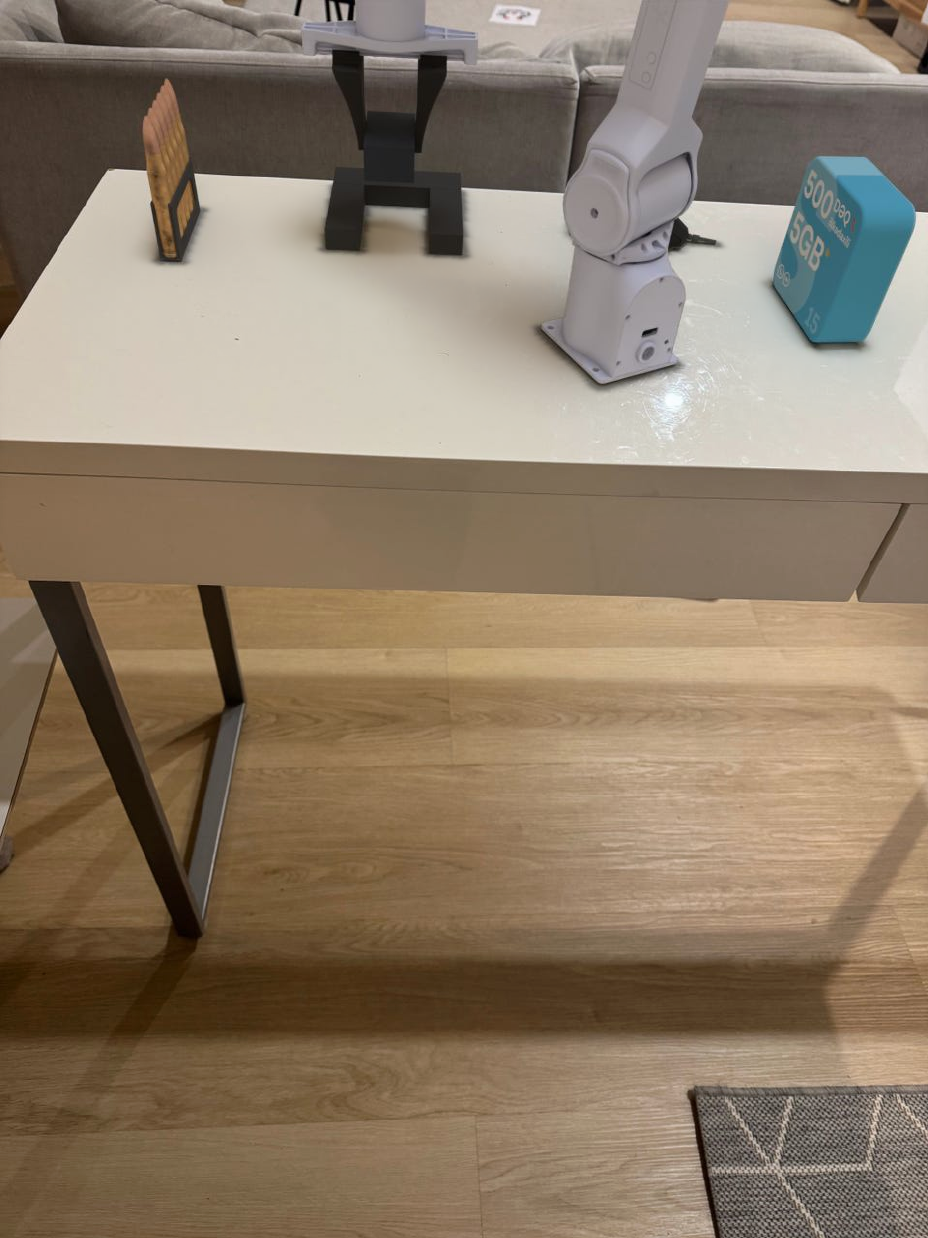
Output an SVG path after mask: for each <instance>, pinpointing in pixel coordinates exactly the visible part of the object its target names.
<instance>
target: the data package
mask: <svg viewBox="0 0 928 1238" xmlns="http://www.w3.org/2000/svg"><path fill="white" fill-rule="evenodd" d="M797 195H798V196H797V198H796V202H795V204H794V207H793V210H792V214H791V216H790V220H789V222H788V226H787V228H786V232H785V236H784V239H783V242H782V245H781V247H780V251H779V253H778V256H777V260H776V263H775V266H774V270H773V285H774V288H775V290H776V291H777V294H779V296H780V298H781V299H782V301H783V302H784V303H785V305H786V306H787V308H788V309H789V311H790V312H791V314H792V315H793V317H794V319H795V320H796V322H797V323H798V324H799V326H800V327H801V329H802V330H803V332H804V333H805V335H806V336H807V338H808V340H809V341H811V342H812V343H860V342H863V341H865V340H866V339H867V337H868V336H869V335H870V333H871V331H872V328H873V327H874V323H875V321H876V319H877V317H878V314H879V312H880V310H881V307H882V305H883V303H884V301H885V298H886V296H887V294H888V291H889V289H890V286H891V285H892V282H893V279H894V277H895V276H896V273H897V270H898V268H899V266H900V264H901V261H902V259H903V257H904V254H905V252H906V249H907V248H908V245H909V243H910V240H911V238H912V236H913V233H914V231H915V228H916V223H917V214H916V213H917V212H916V208H915V206H914V204H913V203H912V202H911V201H910V200H909V199H908V198H907V197H906V196H905V195H904V194H903V193H902V192H901V191H900V190H899V189H898V188H897V187H896V186H895V185H894V184H893V183H892V182H891V181H890V179H888V177H886V176H885V174H883V173H882V171H881V170H879V169H878V168H877V166H875V164H873V162H872V161H870V159H869V158H867V157H866V156H839V155H838V156H835V155H834V156H831V155H830V156H829V155H819V156H815V157H814V158H813V159H811V161H810V162H809V164H808V166H807V168H806V171H805V174H804V176H803V180H802V183H801V186H800V189H799V192H798V194H797Z"/></svg>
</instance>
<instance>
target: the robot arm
mask: <svg viewBox="0 0 928 1238" xmlns="http://www.w3.org/2000/svg"><path fill="white" fill-rule="evenodd" d="M426 3H427V0H354V8H355V9H354V12H355V13H354V14H355V20H339V21H303V22H302V25H301V28H300V33H301V46H302V47H301V48H302V56H309V57H310V56H311V57H314V56H316V55H317V54H322V55H331V71H332V74H333V77H334V79H335V81H336V84H337V85H338V88H339V89H340V92H341V94H342V96H343V98H344V100H345V103H346V105H347V108H348V112H349V115H350V118H351V120H352V124H353V127H354V133H355V136H356V142H357V150H358V151H363V145H364V136H365V129H366V119H367V112H366V103H365V57H375V58H376V57H377V58H394V59H412V60H417V78H416V79H417V83H416V85H417V86H416V93H417V94H416V108H415V109H416V111H415V154H422V152H423V144H424V138H425V134H426V131H427V126H428V123H429V119H430V116H431V113H432V111H433V108H434V106H435V103H436V101H437V99H438V97H439V94H440V92H441V90H442V88H443V87H444V84H445V81H446V79H447V75H448V62H463V64H464V65H469V66H470V65H471V66H477V64H478V52H479V51H478V50H479V49H478V48H479V36H478V32H477V31H471V30H470V31H469V30H460V29H454V28H448V27H442V26H437V25H430V24H426V9H427V8H426V6H427V5H426ZM729 3H730V0H641V3H640V7H639V10H638V15H637V17H636V21H635V26H634V30H633V35H632V38H631V42H630V45H629V49H628V54H627V57H626V61H625V65H624V69H623V72H622V77H621V81H620V84H619V89H618V92H617V96H616V100H615V102H614V105H613V106H612V108H611V110H610V111H609V112H608V114H607V115H606V117H605V118H604V119H603V120H602V122H601V123H600V124H599V126H598V127H597V128H596V130H595V131H594V133H592V136H591V137H590V138H589V140H588V142H587V145H586V149H585V151H584V155H583V159H582V161H581V163H580V165H579V167H578V168H577V170H576V171H575V172H574V173H573V174H572V176H571V177H570V178H569V180H568V181H567V184H566V186H565V188H564V192H563V196H562V214H563V219H564V223H565V226H566V228H567V230H568V233H569V234H570V236H571V238H572V243H571V244H572V246H573V248H574V250H573V255H572V263H571V269H570V275H569V281H568V288H567V293H566V302H565V307H564V314H563V317H561V318H560V317H559V318H556V319H553V320H548V321H543V322H542V323H541V330H542V331H543V332H544V333H545V334H546V335H547V336H548V337H549V338H550V339H551V340H553V342H554V343H556V345H557V346H559V347H560V348H561V350H563V351H564V352H565V353H566V354H567V355H568V356H569V357H571V359H572V360H574V362H576V364H578V365H579V366H580V367H581V368H582V369H583V370H584V371H585V372H586V373H587V374H588V375H589V376H590V377H592V378H593V380H595V381H596V382H597V383H599V384H601V385H602V384H603V385H605V384H607V383H608V384H609V383H611V382H615V381H619V380H622V379H627V378H629V377H634V376H637V375H641V374H644V373H648V372H652V371H655V370H659V369H663V368H666V367H670V366H674V365H676V364H677V363H678V360H679V359H678V357H677V356H676V355H675V354H674V353H673V351H674V346H675V342H676V338H677V335H678V330H679V328H680V327H679V326H680V323H681V320H682V315H683V312H684V308H685V303H686V296H687V292H686V286H685V284H684V282H683V280H682V279H681V277H680V276H679V275H678V274H677V273H676V271H675V270H674V268H673V266H672V263H671V260H670V257H669V249H668V245H669V241H670V236H671V232H672V228H673V224H674V220H675V219H677V218H680V217H682V216H683V215H684V214H685V213H686V212H687V211H688V210H689V208H691V206H692V204H693V202H694V200H695V197H696V194H697V192H698V191H697V190H698V183H699V182H698V181H699V180H698V179H699V178H698V155H699V150H700V147H701V144H702V142H703V137H704V136H703V135H704V134H703V132H702V130H701V129H700V127H699V126H698V125H697V124H696V122H695V120H694V119H693V115H694V111H695V108H696V105H697V103H698V99H699V97H700V92H701V90H702V87H703V83H704V80H705V77H706V74H707V71H708V68H709V65H710V63H711V60H712V56H713V52H714V50H715V47H716V43H717V41H718V38H719V34H720V32H721V28H722V25H723V22H724V19H725V15H726V12H727V10H728V6H729Z"/></svg>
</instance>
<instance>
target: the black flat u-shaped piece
mask: <svg viewBox="0 0 928 1238" xmlns="http://www.w3.org/2000/svg"><path fill="white" fill-rule="evenodd" d="M462 191H463V190H462V173H461V172H448V171H447V172H446V171H445V172H444V171H429V170H428V171H427V170H426V171H425V170H414V183H401V182H380V181H364V167H349V166H348V167H347V166H335V170H334V174H333V179H332V185H331V191H330V196H329V202H328V208H327V213H326V218H325V225H324V244H325V250H336V251H337V250H340V251H357V252H358V251H360V249H361V243H362V242H361V241H362V232H363V224H364V216H365V210H366V209H365V207H366V205H368V206H369V205H372V206H373V205H374V206H391V207H393V206H394V207H413V208H414V207H415V208H429V211H428V212H429V213H428V215H429V216H428V220H429V221H428V253H429V254H431V255H451V256H452V255H454V256H463V253H464V252H463V251H464V249H463V248H464V219H463V217H464V215H463V195H462V194H463V193H462Z"/></svg>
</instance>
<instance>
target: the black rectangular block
mask: <svg viewBox="0 0 928 1238" xmlns="http://www.w3.org/2000/svg"><path fill="white" fill-rule="evenodd" d="M415 120H416V112H399V111H398V112H397V111H379V110H378V111H376V110H367V112H366V129H365V136H364V145H363V150H362V151H363V168H364V181H380V182H401V183H414V171H415V154H416V153H415Z"/></svg>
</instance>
